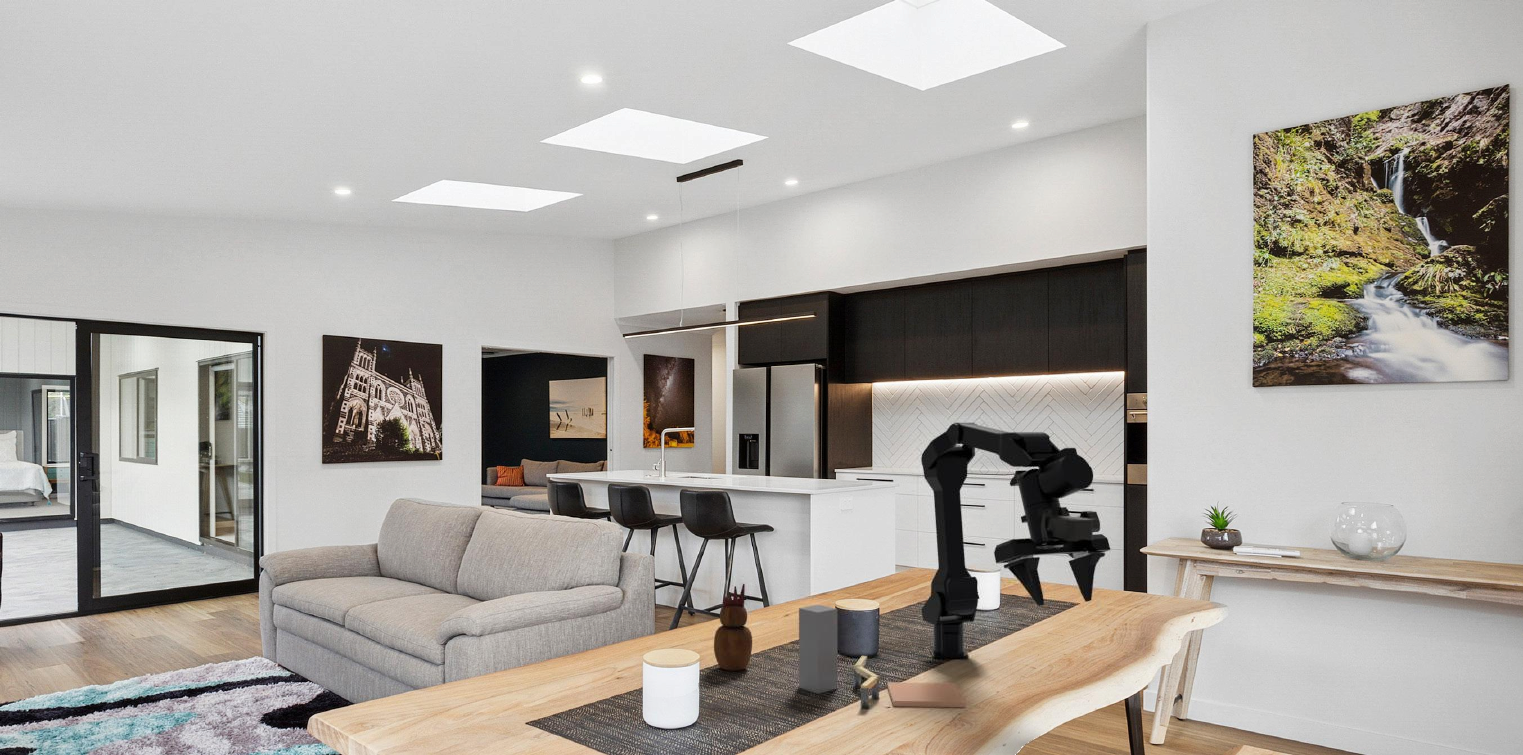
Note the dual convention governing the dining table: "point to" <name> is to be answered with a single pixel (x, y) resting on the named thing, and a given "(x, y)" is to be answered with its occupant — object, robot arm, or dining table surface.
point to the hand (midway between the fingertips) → (1065, 603)
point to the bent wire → (871, 683)
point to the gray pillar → (818, 649)
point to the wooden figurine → (733, 634)
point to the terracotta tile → (925, 694)
